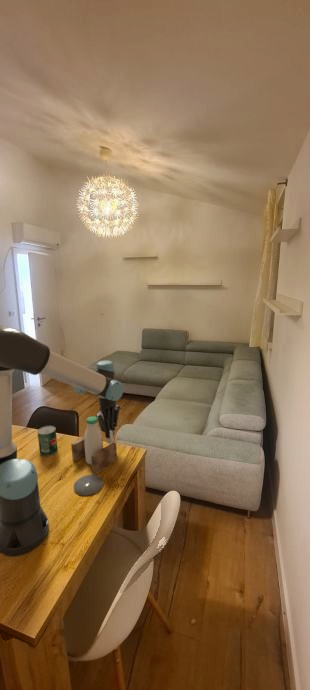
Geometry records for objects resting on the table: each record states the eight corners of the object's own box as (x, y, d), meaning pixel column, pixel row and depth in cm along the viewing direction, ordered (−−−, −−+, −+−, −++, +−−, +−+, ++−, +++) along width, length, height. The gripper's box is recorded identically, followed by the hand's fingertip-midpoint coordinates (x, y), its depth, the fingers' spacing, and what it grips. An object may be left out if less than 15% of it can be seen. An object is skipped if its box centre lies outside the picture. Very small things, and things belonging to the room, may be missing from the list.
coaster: (85, 500, 107) (85, 498, 107) (68, 486, 114) (67, 485, 114) (108, 483, 115) (108, 482, 115) (90, 472, 122) (90, 471, 122)
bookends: (95, 474, 121) (94, 456, 119) (72, 459, 131) (71, 443, 129) (116, 460, 130) (116, 443, 128) (94, 447, 140) (93, 432, 138)
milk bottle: (101, 465, 127) (99, 422, 122) (83, 465, 127) (80, 422, 122) (105, 454, 134) (102, 414, 130) (88, 454, 134) (85, 414, 130)
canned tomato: (39, 449, 139) (36, 427, 137) (56, 444, 143) (54, 424, 140) (40, 458, 132) (38, 435, 130) (58, 453, 136) (56, 431, 133)
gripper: (101, 402, 124) (104, 452, 129) (123, 392, 133) (126, 439, 139) (90, 398, 128) (93, 446, 134) (112, 389, 138) (115, 434, 144)
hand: (110, 443), depth 137 cm, fingers closed
